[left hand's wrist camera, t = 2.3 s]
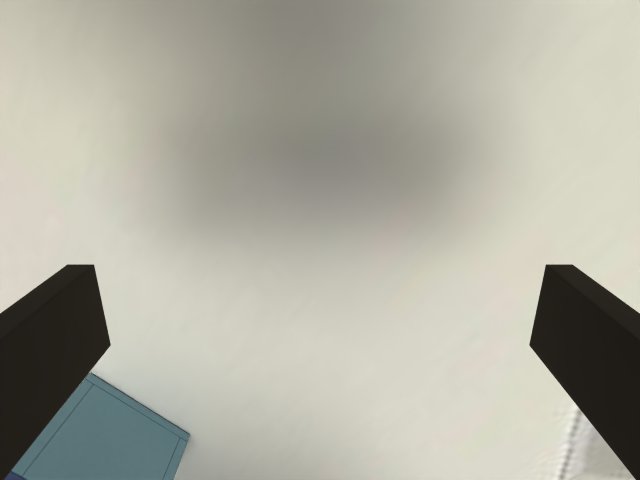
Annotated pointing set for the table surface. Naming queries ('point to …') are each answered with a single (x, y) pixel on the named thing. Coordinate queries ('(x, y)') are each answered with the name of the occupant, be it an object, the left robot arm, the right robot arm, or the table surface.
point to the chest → (103, 440)
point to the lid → (12, 477)
